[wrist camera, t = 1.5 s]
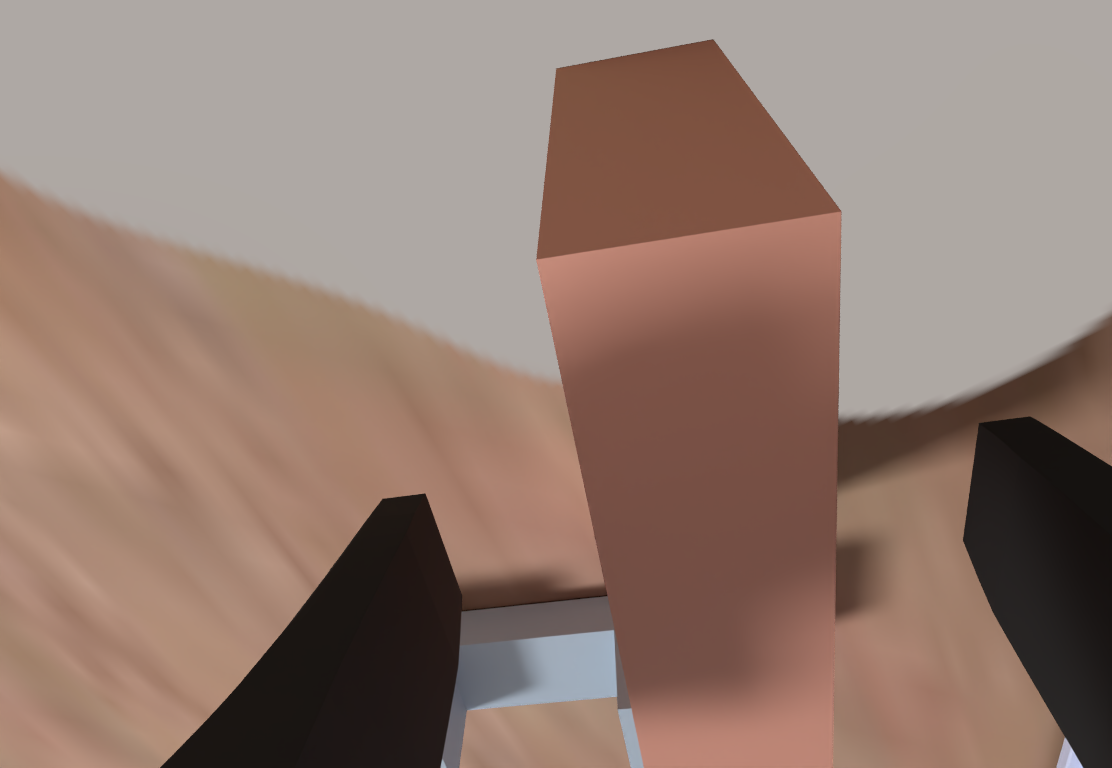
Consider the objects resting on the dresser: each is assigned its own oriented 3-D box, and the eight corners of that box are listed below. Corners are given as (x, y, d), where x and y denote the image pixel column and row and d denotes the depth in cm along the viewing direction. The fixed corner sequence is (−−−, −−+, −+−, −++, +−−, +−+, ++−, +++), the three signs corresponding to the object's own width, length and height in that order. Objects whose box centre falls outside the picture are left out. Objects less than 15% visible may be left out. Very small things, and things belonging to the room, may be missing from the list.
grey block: (741, 581, 18) (767, 695, 16) (746, 649, 20) (770, 764, 17) (329, 625, 20) (292, 738, 17) (359, 686, 21) (329, 799, 18)
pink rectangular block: (713, 39, 12) (841, 211, 6) (746, 523, 17) (831, 860, 12) (556, 68, 12) (536, 258, 6) (636, 535, 18) (665, 871, 12)
